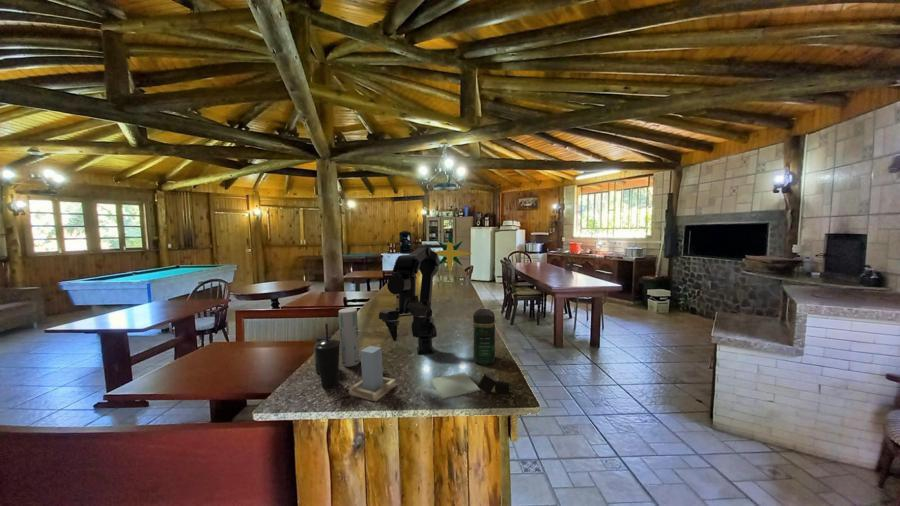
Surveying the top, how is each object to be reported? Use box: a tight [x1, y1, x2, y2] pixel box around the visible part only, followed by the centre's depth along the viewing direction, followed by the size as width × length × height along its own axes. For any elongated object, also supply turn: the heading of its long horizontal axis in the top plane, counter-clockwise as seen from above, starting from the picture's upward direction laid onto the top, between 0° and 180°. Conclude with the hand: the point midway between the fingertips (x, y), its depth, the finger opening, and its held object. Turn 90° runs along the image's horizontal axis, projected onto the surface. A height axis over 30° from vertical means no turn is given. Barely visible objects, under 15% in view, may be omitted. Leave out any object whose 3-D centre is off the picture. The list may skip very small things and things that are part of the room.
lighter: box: [476, 372, 511, 395], centre depth 99 cm, size 9×2×6 cm
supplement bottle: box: [313, 334, 332, 374], centre depth 116 cm, size 7×7×12 cm
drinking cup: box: [314, 323, 341, 390], centre depth 105 cm, size 8×8×20 cm
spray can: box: [338, 307, 360, 368], centre depth 121 cm, size 6×6×20 cm
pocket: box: [348, 376, 397, 402], centre depth 102 cm, size 10×10×2 cm
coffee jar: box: [472, 308, 496, 366], centre depth 121 cm, size 10×8×19 cm
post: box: [360, 345, 384, 392], centre depth 101 cm, size 4×4×13 cm
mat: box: [429, 372, 481, 400], centre depth 103 cm, size 12×12×1 cm
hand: (406, 339), depth 111 cm, fingers open, 9 cm apart
